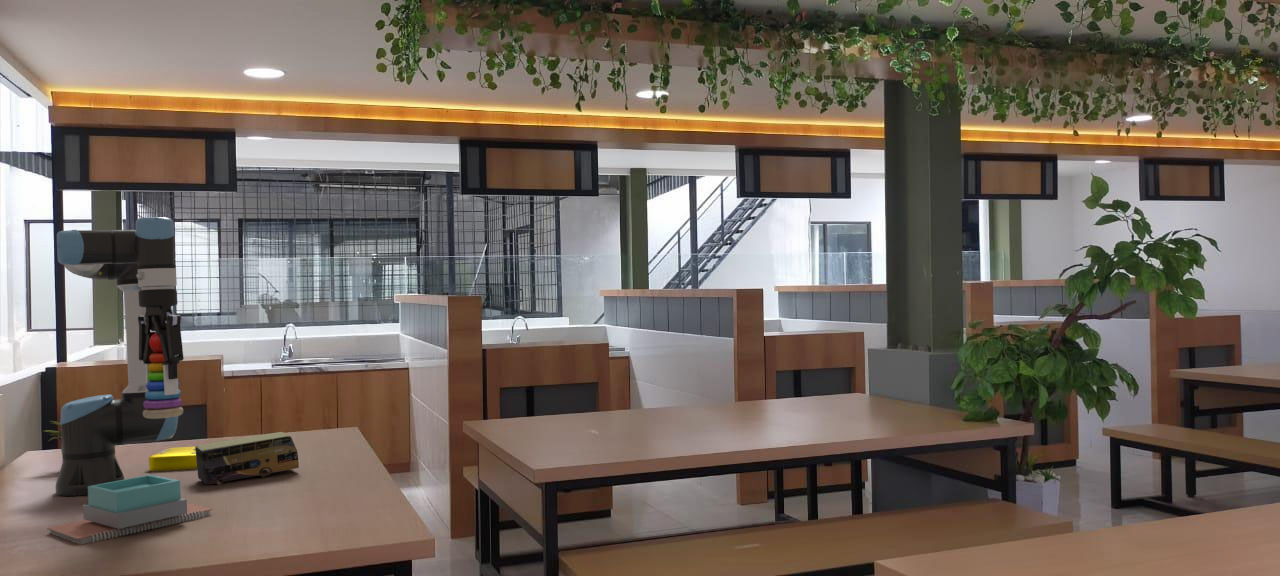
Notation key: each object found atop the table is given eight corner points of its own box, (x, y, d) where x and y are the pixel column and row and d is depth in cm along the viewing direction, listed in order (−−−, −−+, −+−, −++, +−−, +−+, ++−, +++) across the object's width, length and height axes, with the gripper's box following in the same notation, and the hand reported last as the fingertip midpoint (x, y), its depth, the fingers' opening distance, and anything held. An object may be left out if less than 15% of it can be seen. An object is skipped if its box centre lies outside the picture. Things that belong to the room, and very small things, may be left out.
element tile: (168, 462, 278) (168, 446, 278) (221, 459, 280) (220, 443, 279) (146, 472, 263) (145, 455, 263) (202, 469, 265) (201, 452, 265)
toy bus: (299, 472, 252) (296, 434, 252) (205, 490, 239) (201, 450, 239) (290, 466, 260) (287, 430, 260) (198, 483, 247) (194, 445, 247)
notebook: (80, 548, 187) (79, 538, 187) (47, 536, 198) (46, 526, 198) (214, 517, 208) (214, 508, 208) (178, 508, 219) (178, 499, 219)
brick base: (83, 519, 201) (82, 486, 201) (150, 504, 212) (149, 473, 212) (118, 529, 191) (117, 494, 191) (187, 513, 202) (185, 480, 202)
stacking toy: (167, 419, 203) (163, 331, 203) (134, 419, 204) (130, 332, 204) (191, 413, 211) (187, 329, 211) (159, 414, 212) (155, 330, 212)
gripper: (117, 290, 210) (122, 394, 210) (164, 287, 198) (169, 397, 199) (151, 289, 216) (156, 389, 216) (198, 286, 204) (203, 393, 205)
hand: (162, 393), depth 207 cm, fingers closed on stacking toy, 7 cm apart
